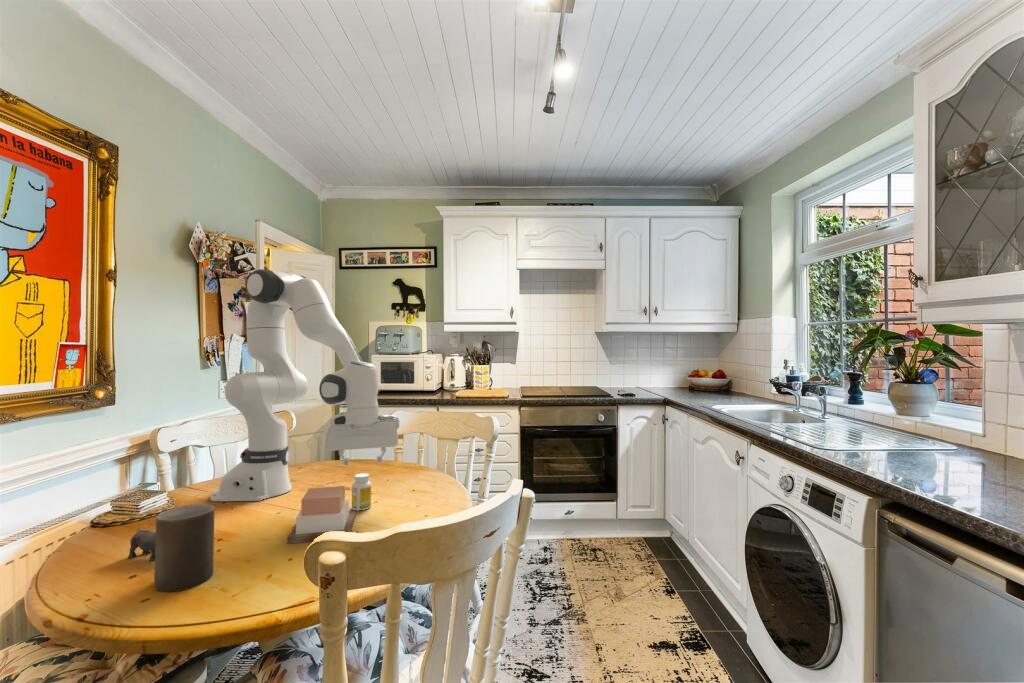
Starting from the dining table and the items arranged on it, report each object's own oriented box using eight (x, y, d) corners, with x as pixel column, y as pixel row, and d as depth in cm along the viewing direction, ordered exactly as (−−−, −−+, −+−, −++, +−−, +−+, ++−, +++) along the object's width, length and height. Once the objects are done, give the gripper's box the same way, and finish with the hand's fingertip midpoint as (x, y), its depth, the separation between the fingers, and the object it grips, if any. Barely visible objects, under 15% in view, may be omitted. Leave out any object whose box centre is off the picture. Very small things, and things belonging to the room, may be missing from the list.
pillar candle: (200, 589, 86) (202, 511, 87) (142, 595, 84) (144, 515, 85) (221, 566, 96) (223, 495, 96) (170, 570, 94) (172, 498, 94)
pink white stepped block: (295, 534, 108) (296, 501, 108) (305, 517, 119) (305, 487, 119) (343, 530, 111) (344, 497, 111) (348, 514, 122) (349, 484, 122)
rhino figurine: (176, 565, 96) (177, 537, 96) (123, 559, 98) (123, 532, 98) (193, 556, 100) (193, 529, 100) (141, 551, 102) (142, 525, 102)
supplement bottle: (348, 511, 128) (349, 477, 128) (355, 504, 133) (355, 472, 133) (367, 511, 128) (367, 477, 128) (373, 504, 133) (373, 472, 133)
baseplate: (287, 543, 107) (287, 537, 107) (300, 521, 120) (300, 515, 120) (349, 538, 110) (349, 532, 110) (355, 517, 123) (355, 511, 123)
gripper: (399, 413, 136) (399, 458, 136) (328, 416, 131) (328, 463, 131) (399, 416, 130) (399, 463, 130) (324, 419, 125) (324, 469, 125)
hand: (363, 463), depth 130 cm, fingers open, 8 cm apart
